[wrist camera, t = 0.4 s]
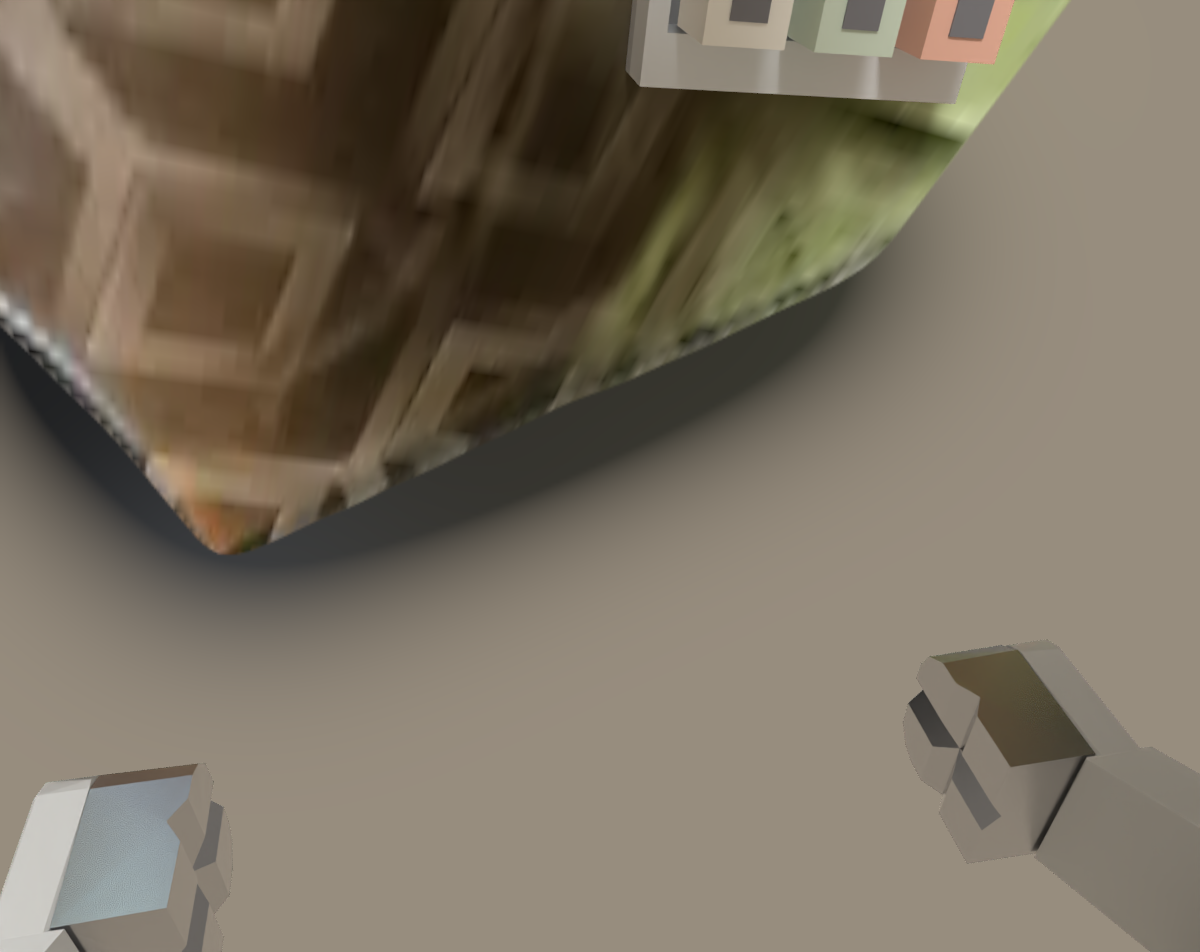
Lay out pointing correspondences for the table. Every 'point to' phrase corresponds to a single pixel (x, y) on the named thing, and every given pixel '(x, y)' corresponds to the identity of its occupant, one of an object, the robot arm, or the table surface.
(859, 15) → the key
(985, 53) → the key
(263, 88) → the table surface
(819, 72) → the grey piece
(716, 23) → the key
